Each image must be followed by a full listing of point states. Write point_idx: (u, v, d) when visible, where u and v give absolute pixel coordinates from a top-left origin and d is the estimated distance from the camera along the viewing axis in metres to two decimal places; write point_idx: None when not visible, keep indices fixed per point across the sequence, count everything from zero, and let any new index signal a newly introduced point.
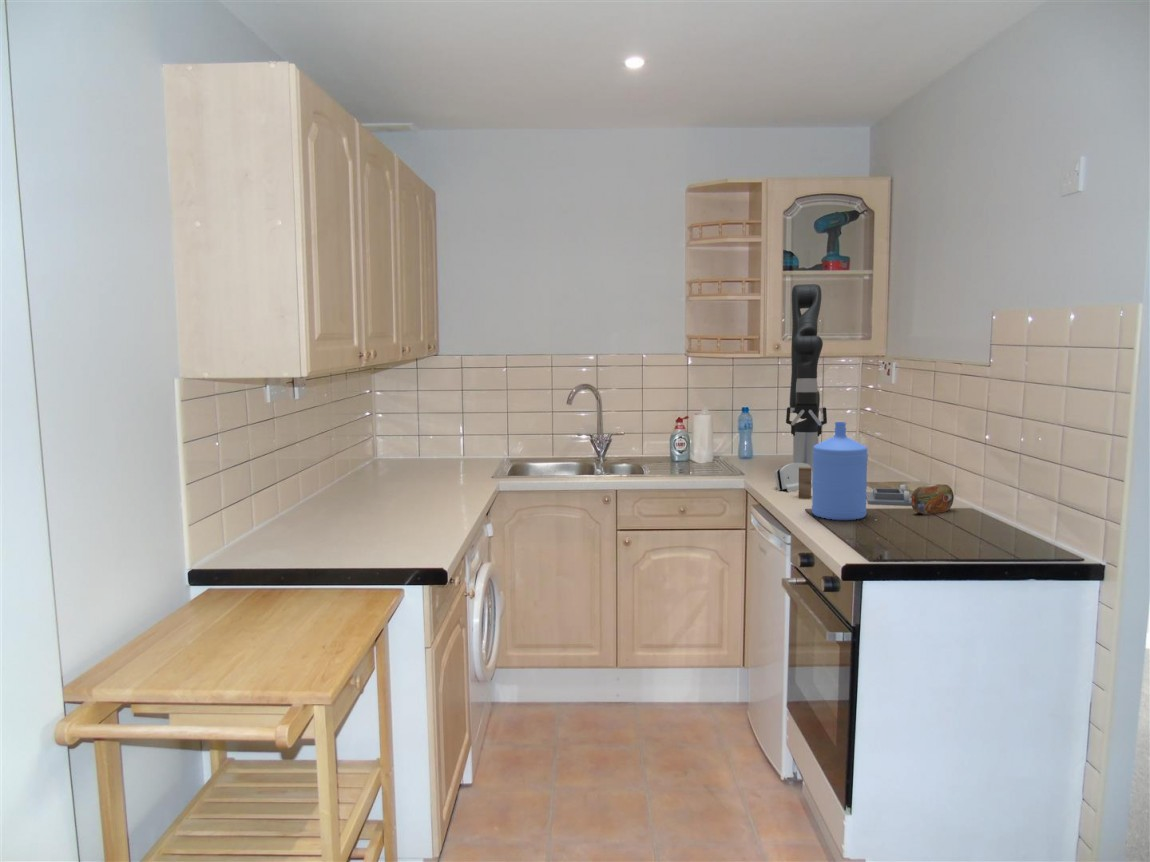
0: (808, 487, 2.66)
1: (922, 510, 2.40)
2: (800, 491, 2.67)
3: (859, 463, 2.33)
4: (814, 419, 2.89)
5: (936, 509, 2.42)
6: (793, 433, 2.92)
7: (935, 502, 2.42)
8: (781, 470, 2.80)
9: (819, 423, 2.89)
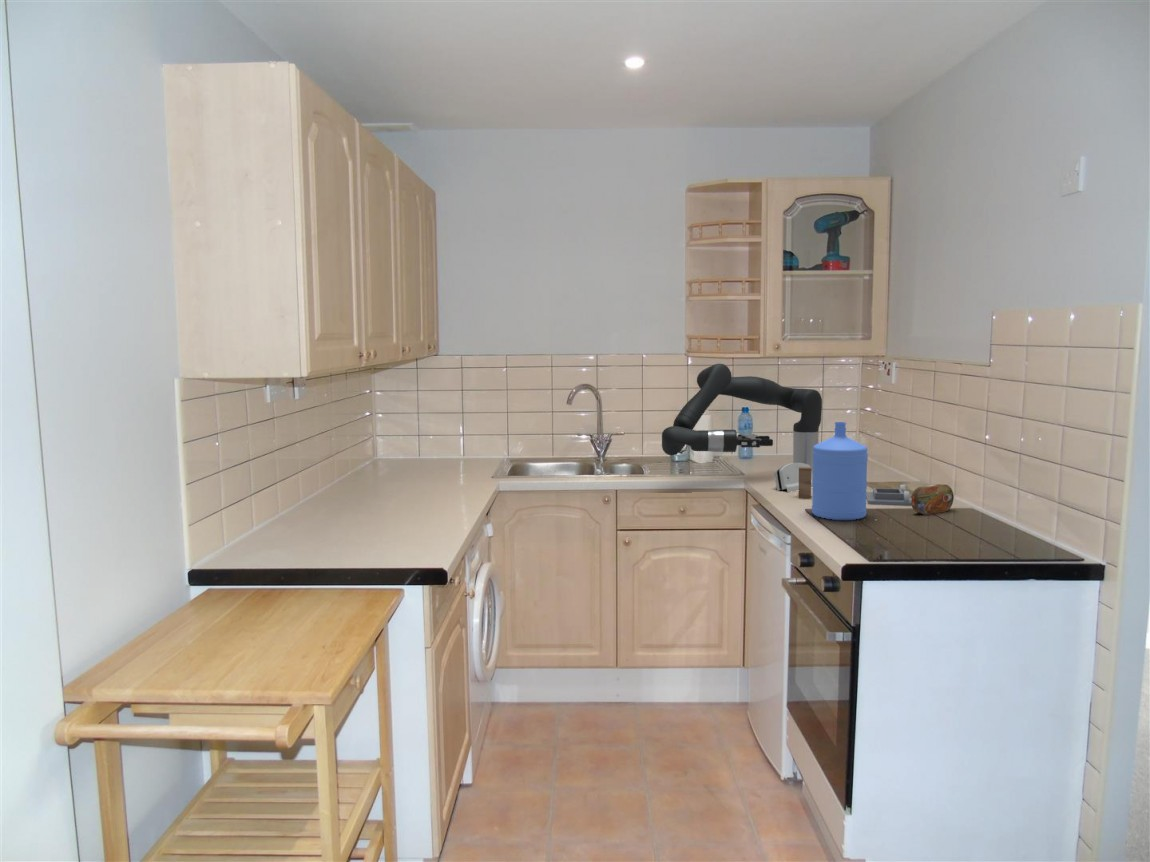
0: (808, 487, 2.66)
1: (922, 510, 2.40)
2: (800, 491, 2.67)
3: (859, 463, 2.33)
4: None
5: (936, 509, 2.42)
6: None
7: (935, 502, 2.42)
8: (781, 470, 2.80)
9: None
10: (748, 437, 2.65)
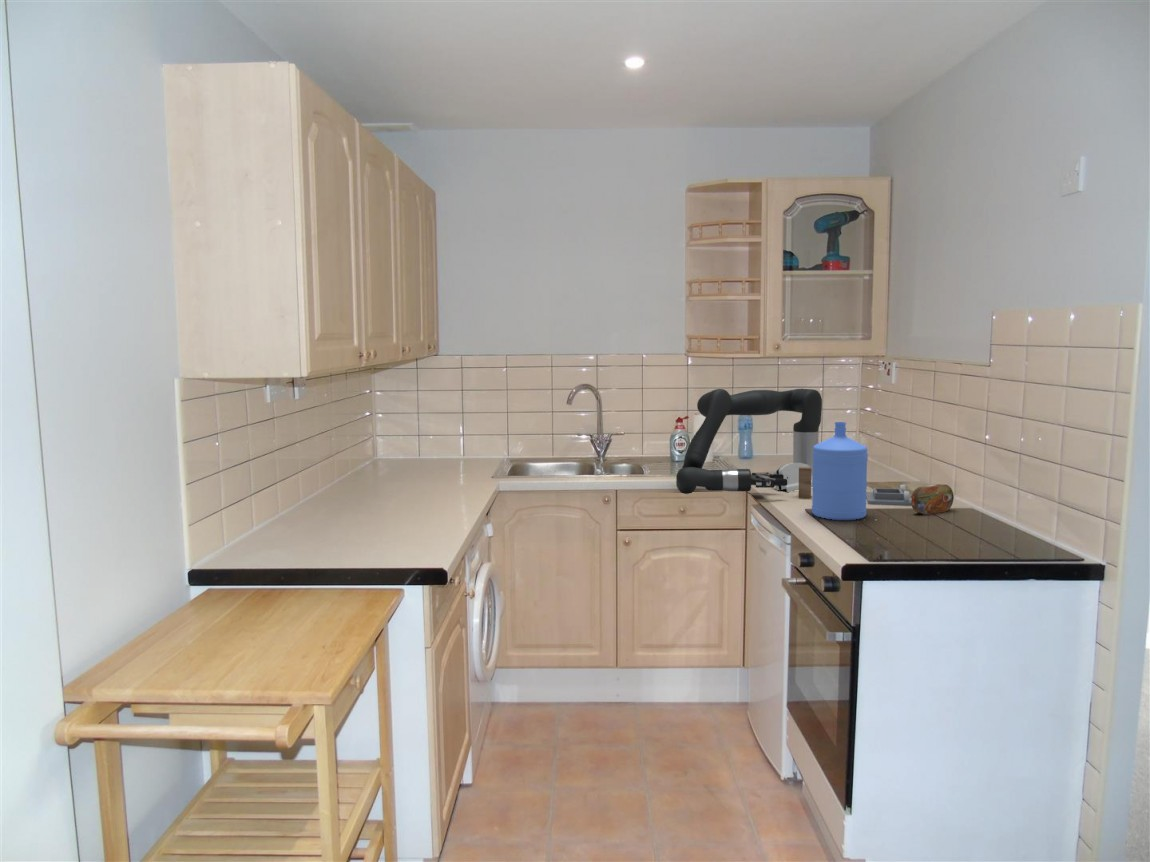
0: (808, 487, 2.66)
1: (922, 510, 2.40)
2: (800, 491, 2.67)
3: (859, 463, 2.33)
4: None
5: (936, 509, 2.42)
6: None
7: (935, 502, 2.42)
8: (780, 470, 2.80)
9: None
10: (762, 477, 2.67)
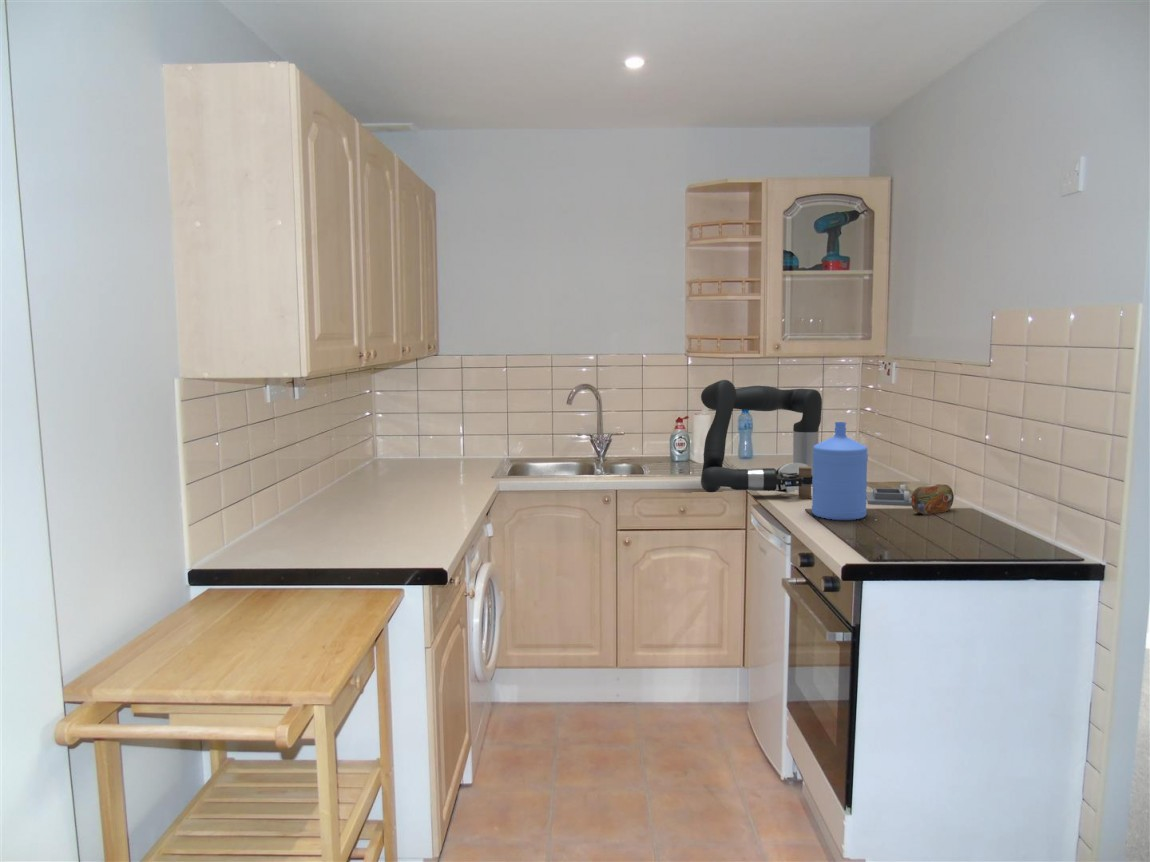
0: (808, 487, 2.66)
1: (922, 510, 2.40)
2: (800, 491, 2.67)
3: (859, 463, 2.33)
4: None
5: (936, 509, 2.42)
6: None
7: (935, 502, 2.42)
8: (780, 470, 2.80)
9: None
10: (789, 476, 2.66)
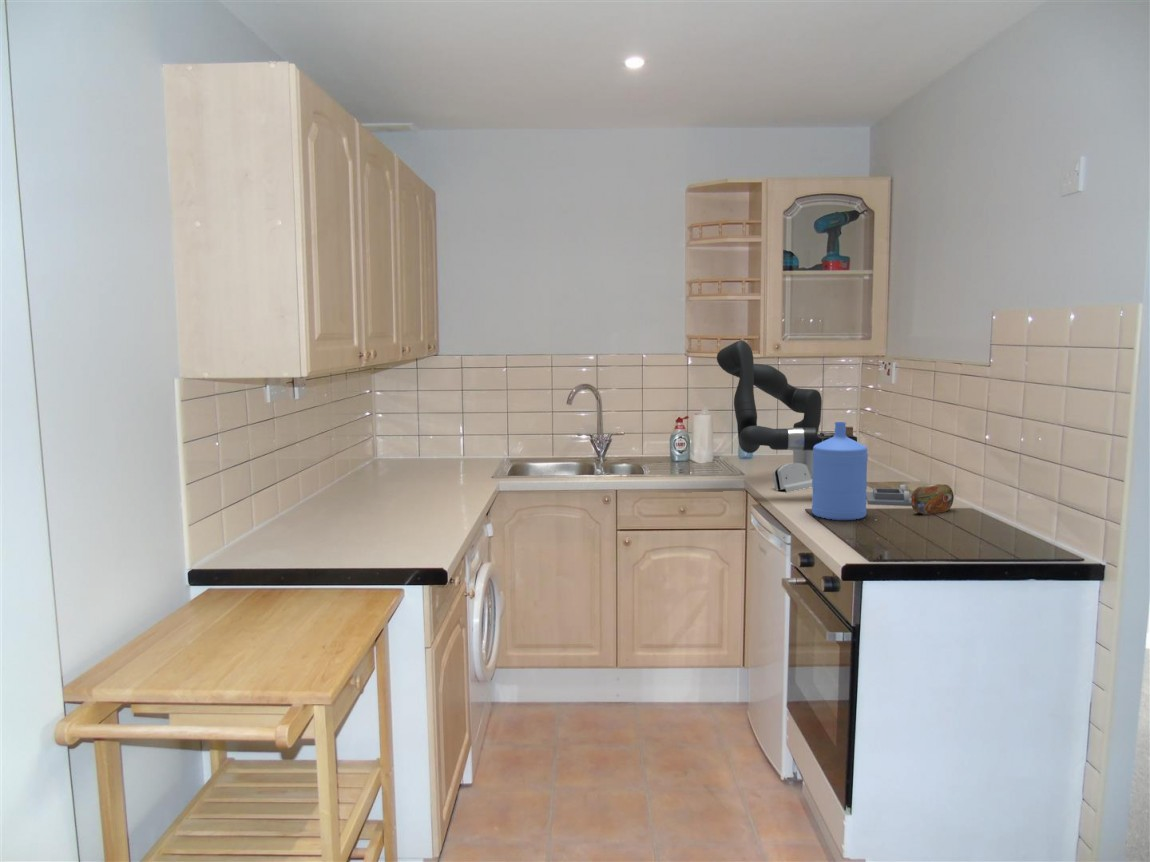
0: None
1: (922, 510, 2.40)
2: None
3: (859, 463, 2.33)
4: None
5: (936, 509, 2.42)
6: None
7: (935, 502, 2.42)
8: (779, 470, 2.80)
9: None
10: (830, 435, 2.61)
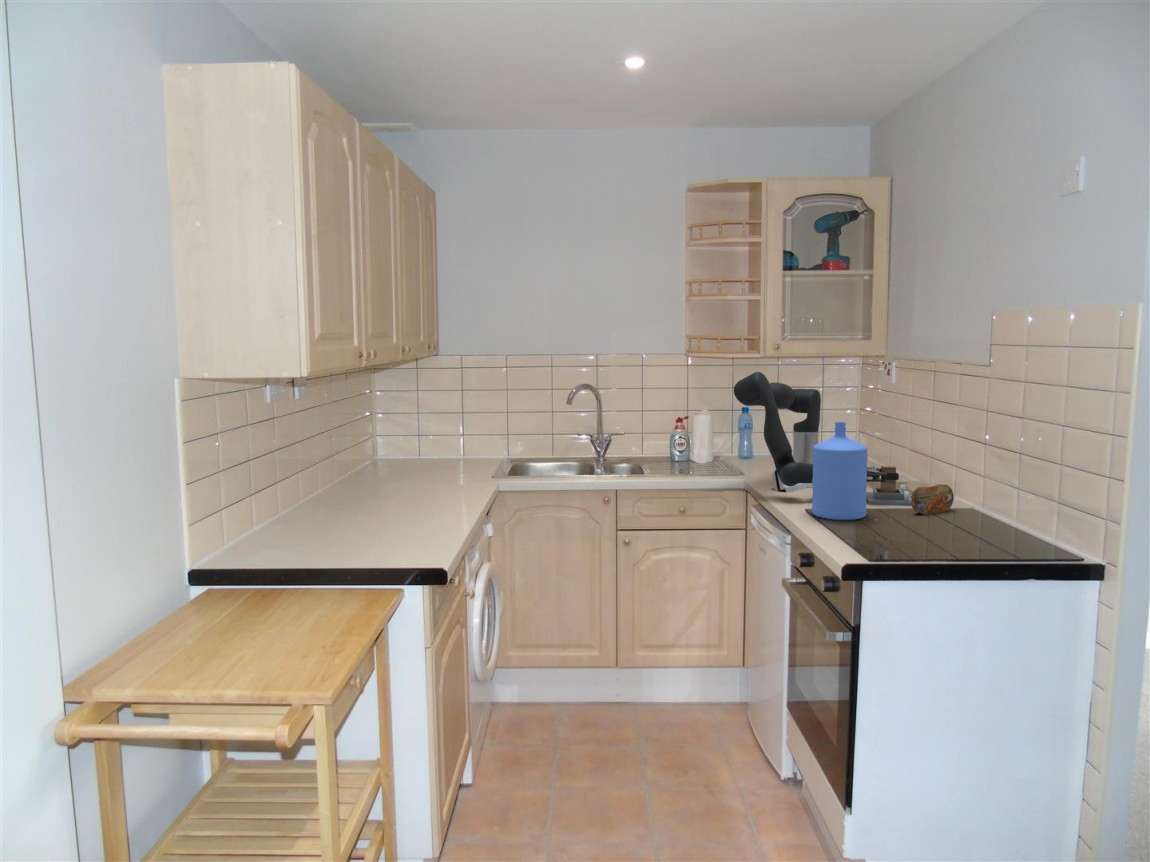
0: (893, 487, 2.59)
1: (922, 510, 2.40)
2: (884, 491, 2.59)
3: (859, 463, 2.33)
4: None
5: (936, 509, 2.42)
6: None
7: (935, 502, 2.42)
8: None
9: None
10: (872, 471, 2.58)
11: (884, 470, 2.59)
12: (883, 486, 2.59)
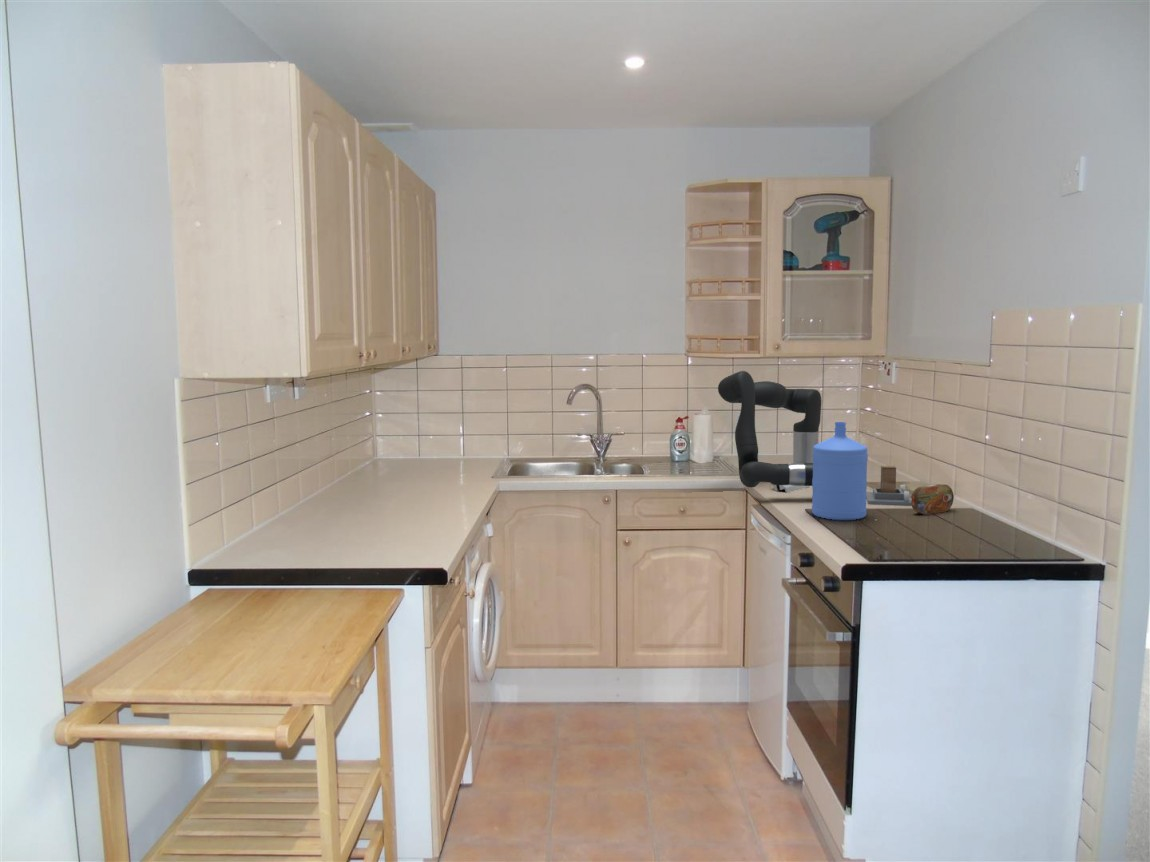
0: (893, 487, 2.59)
1: (922, 510, 2.40)
2: (884, 491, 2.59)
3: (859, 463, 2.33)
4: None
5: (936, 509, 2.42)
6: None
7: (935, 502, 2.42)
8: None
9: None
10: None
11: (884, 470, 2.59)
12: (883, 486, 2.59)
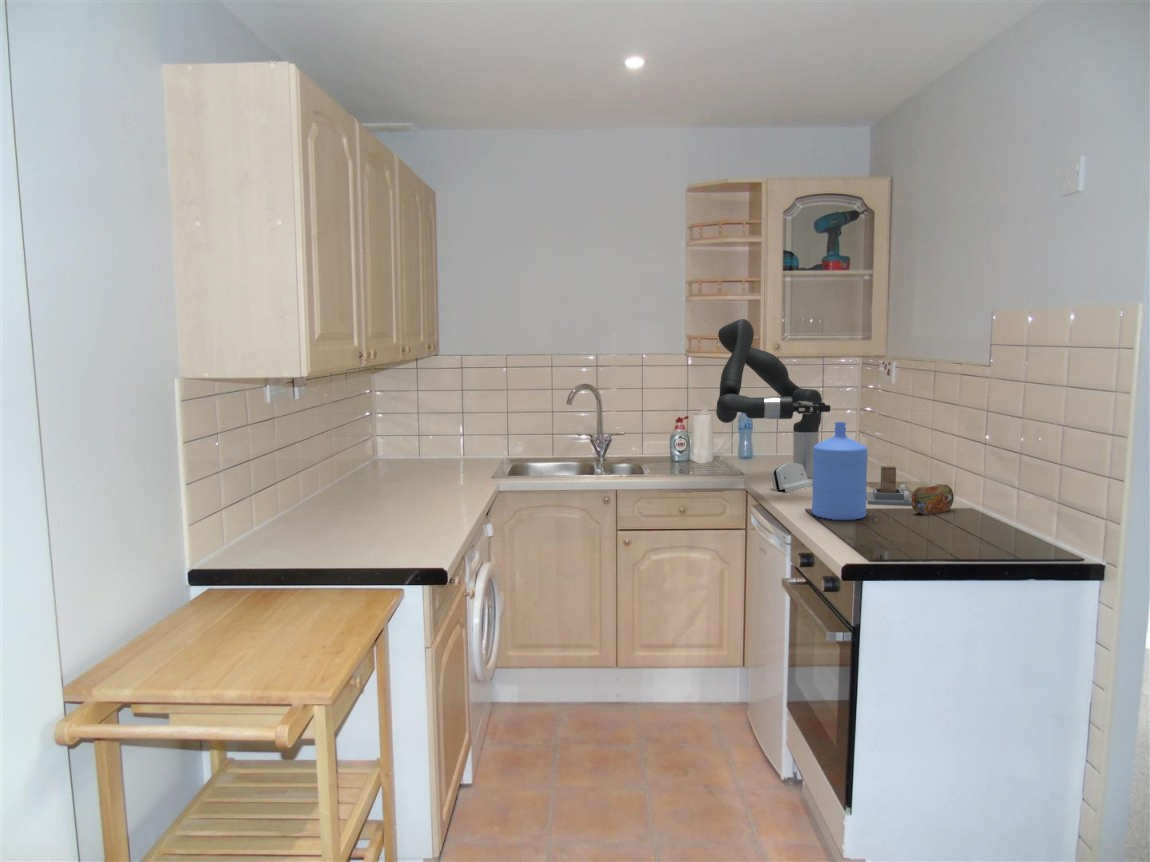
0: (893, 487, 2.59)
1: (922, 510, 2.40)
2: (884, 491, 2.59)
3: (859, 463, 2.33)
4: (810, 413, 2.64)
5: (936, 509, 2.42)
6: None
7: (935, 502, 2.42)
8: (778, 471, 2.79)
9: None
10: (805, 403, 2.63)
11: (884, 470, 2.59)
12: (883, 486, 2.59)
